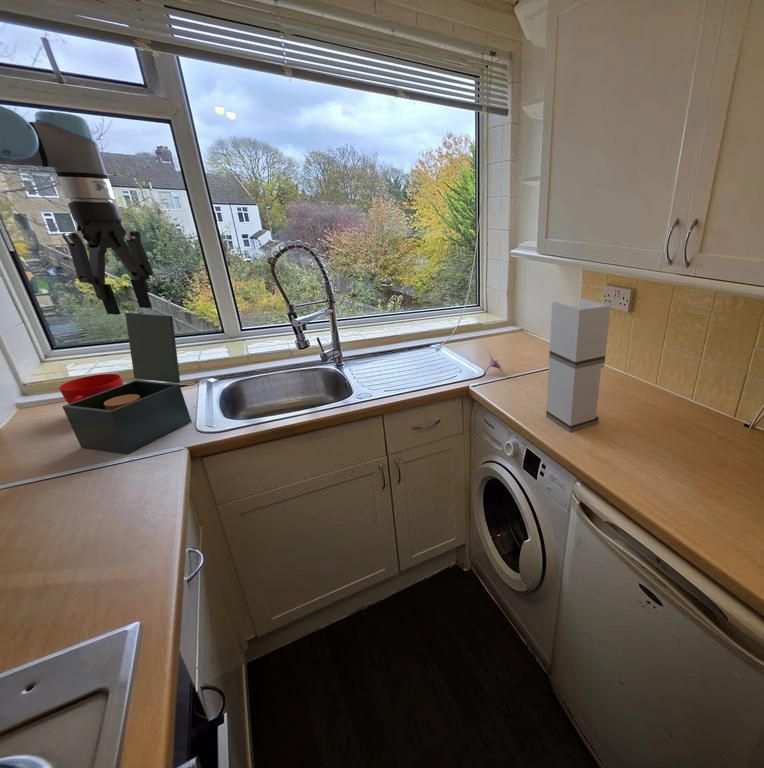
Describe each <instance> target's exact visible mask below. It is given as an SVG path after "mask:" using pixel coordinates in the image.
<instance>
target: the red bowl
mask: <svg viewBox="0 0 764 768" xmlns="http://www.w3.org/2000/svg"><path fill="white" fill-rule="evenodd" d="M121 385H124V381H123V378H122V376H121V375H120V374H117V373H101V374H94V375H88V376H82V377H78V378H75V379H72V380H69V381H67V382H64V383H63V384H61V385H59V387H58V388H59V389H58V390H59V391H60V394H61V395H62V397H63V398H64V400H65V402H66V403H67V404H70V403H73V402H76V401H79V400H81V399H84V398H87V397H90V396H93V395H95V394H98V393H101V392H104V391H107V390H109V389H112V388H115V387H118V386H121Z"/></svg>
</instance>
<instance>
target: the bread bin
mask: <svg viewBox="0 0 764 768" xmlns="http://www.w3.org/2000/svg"><path fill="white" fill-rule="evenodd" d="M129 394H137V395H139V396H140V398H141V399H139V400H136V401H134V402H131V403H129V404H126V405H124V406H121V407H119V408H116V409H114V410H106V408H105V406H104V402H105V401H107V400H109V399H111V398H114V397H118V396H122V395H129ZM62 409H63V411H64V414H65V416H66V418H67V420H68V422H69V424H70V426H71V429H72V431H73V433H74V435H75V438H76V439H77V442H78V444H79V447H80V448H81V449H87V450H95V451H101V452H107V453H108V452H109V453H115V454H122V455H130V454H133V453H134V452H135V451H137V450H139V449H141V448H143V447H145V446H147V445H149V444H151V443H153V442H155V441H157V440H159V439H161V438H163V437H165V436H167V435H169V434H172V433H173V432H175V431H177V430H179V429H181V428H183V427H185V426H187V425H189V424H190V423H189V422H191V423H192V418H191V414H190V412H189V409H188V406H187V403H186V400H185V397H184V394H183V390H182V388H181V385H180V383H171V382H162V381H152V380H142V379H135V380H132V381H129V382H127V383H123V385H121V386H118V387H115V388H112V389H109V390H107V391H104V392H101V393H98V394H95V395H93V396H90V397H87V398H84V399H81V400H79V401H76V402H73V403H70V404H68V403H67V404H64V405H62ZM188 423H189V424H188ZM186 424H187V425H186ZM182 426H183V427H182Z"/></svg>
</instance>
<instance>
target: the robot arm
mask: <svg viewBox="0 0 764 768" xmlns="http://www.w3.org/2000/svg"><path fill="white" fill-rule="evenodd" d="M34 118H35V119H34V121H28V120H27V119H25V118H24V117H23V116H21V115H20V114H19V113H17V112H16V111H14V110H12V109H10V108H7V107H5V106H3V105H0V165H8V166H9V165H10V166H27V167H28V166H29V167H43V168H53V169H54V171H55V174H56V176H57V180H58V182H59V184H60V185H59V186H60V187H61V190H62V193H63V196H64V198H66V199H67V200H69V202H68V203H67V206H68V209H69V212H70V215H71V216H72V219H73V220H74V222H75V223H76V230H75V231H72V232H63V233H62V234H61V236H62V239H64V241H65V242H66V244H67V246H68V249H69V253H70V255H71V259H72V262H73V266H74V269H75V272H76V276H77V279H78V281H79V283H83V284H88V285H91V286H92V287H93V290H94V293H95V295H96V298H97V299H98V300H99V301H102V304H103V307H104V308H105V312H106V314H107V315H117V316H118V315H121V311H120V308H119V305H118V303H117V298H116V297H115V294H114V291H113V288H112V286H111V284H109V283H106V254H107V252H108V249H111V250H112V251H113V252H114V253H115V254H116V255H117V257H118V259H120V261H121V262H122V264H123V265H124V266H125V268H126V269H127V270H128V272H129V274H130V275H131V276H132V278H134V279H130V283H131V287H132V290H133V293H134V295H135V298H136V301H137V304H138V307H139V308H140V309H141V308H142V309H151V308H153V306H152V302H151V300H150V298H149V293H150V288H149V285H148V282H147V280H149V279H150V276H152V275H154V271H153V268H152V266H151V264H150V261H149V259H148V256H147V254H146V250H145V249H144V246H143V244H142V237H141V232H140V231H139V230H128V229H126V228H125V226H124V225H123V224H122V220H123V219H122V218H123V217H122V215H121V212H120V209H119V206H118V204H117V203H115V202H113V201H114V200H116V198H115V195H114V191H113V188H112V185H111V182H110V180H109V177H108V173H107V171H106V167H105V163H104V160H103V157H102V154H101V152H100V148H99V143H98V142H97V140H96V137H95V135H94V132H93V130H92V127H91V125H90V123H89V122H88V121H87V120H86V119H85V118H83V117H82V116H79V115H75V114H71V113H66V112H58V111H48V110H47V111H46V110H44V111H43V110H42V111H41V110H40V111H36V112H34ZM125 239H126V241H125ZM85 241H86V246H85V243H84V242H85ZM88 254H89V255H88Z"/></svg>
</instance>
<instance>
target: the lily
mask: <svg viewBox="0 0 764 768" xmlns="http://www.w3.org/2000/svg"><path fill="white" fill-rule="evenodd" d="M485 350H486V351H487V352H488V355H489V365H488V367H487V368H486V370H485V372H484V373H483V375H484V376H485V375H486V373H487V371H488V370H489V368H490V367H492V368H496V369H497V370H499V371H500V372H501V373H502V374H503V375H505V373H504V372H503V370H502V369H503V368H502V366H501V364H500V363H499V359H496V360H494V358H493V357H492V354H491V353H490V351H489V349H487V348H485Z"/></svg>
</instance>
